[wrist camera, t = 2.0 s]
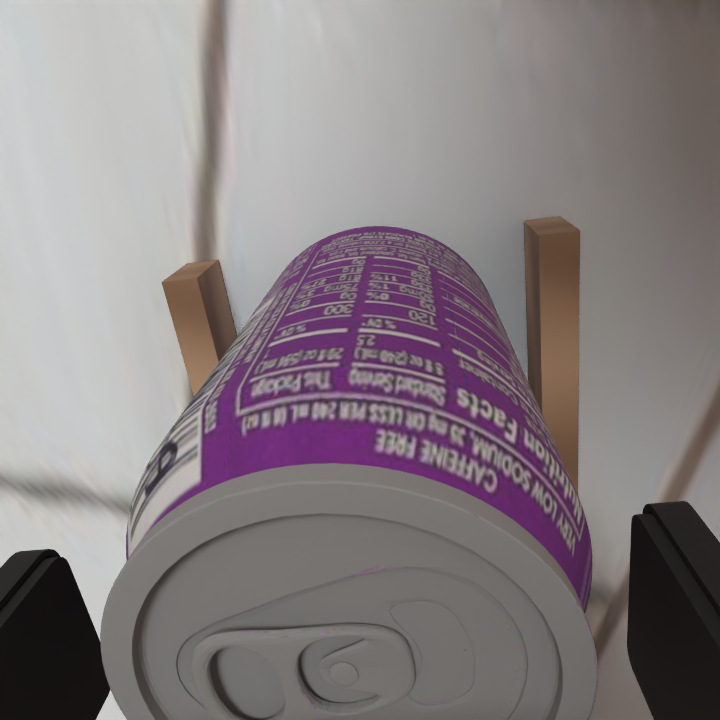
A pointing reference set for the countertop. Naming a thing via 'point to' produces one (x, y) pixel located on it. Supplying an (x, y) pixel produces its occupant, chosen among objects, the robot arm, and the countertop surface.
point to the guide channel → (544, 325)
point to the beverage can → (358, 514)
